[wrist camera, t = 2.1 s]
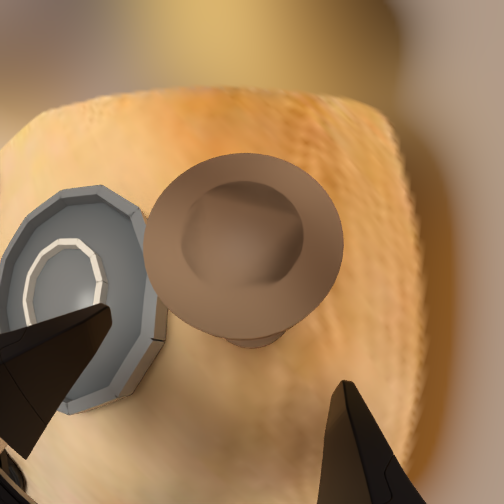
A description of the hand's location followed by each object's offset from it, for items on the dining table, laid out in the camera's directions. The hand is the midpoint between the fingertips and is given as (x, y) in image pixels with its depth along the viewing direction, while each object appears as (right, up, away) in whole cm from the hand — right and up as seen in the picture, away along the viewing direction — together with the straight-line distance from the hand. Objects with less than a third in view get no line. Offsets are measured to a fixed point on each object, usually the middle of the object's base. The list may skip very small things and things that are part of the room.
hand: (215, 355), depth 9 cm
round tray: (-15, 0, +11) cm, 19 cm away
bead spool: (+1, -1, +11) cm, 11 cm away
